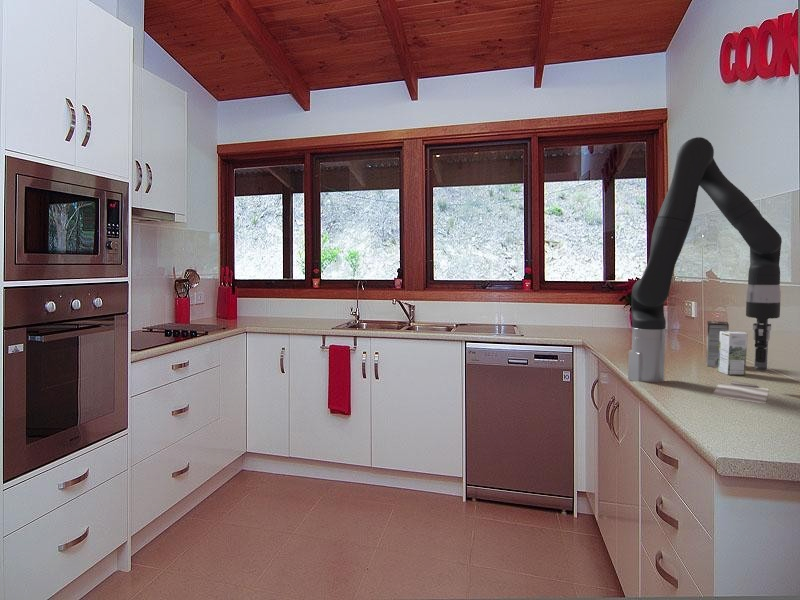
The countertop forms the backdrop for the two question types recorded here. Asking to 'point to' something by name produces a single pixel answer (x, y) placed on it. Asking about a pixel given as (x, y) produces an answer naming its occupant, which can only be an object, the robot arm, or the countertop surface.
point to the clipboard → (741, 392)
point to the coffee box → (714, 341)
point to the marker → (758, 365)
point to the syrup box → (732, 352)
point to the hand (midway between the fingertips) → (760, 361)
